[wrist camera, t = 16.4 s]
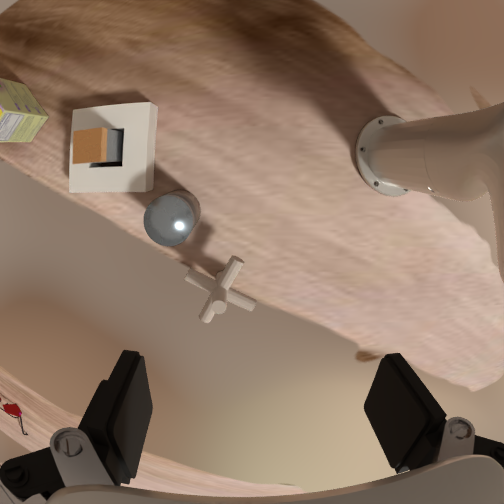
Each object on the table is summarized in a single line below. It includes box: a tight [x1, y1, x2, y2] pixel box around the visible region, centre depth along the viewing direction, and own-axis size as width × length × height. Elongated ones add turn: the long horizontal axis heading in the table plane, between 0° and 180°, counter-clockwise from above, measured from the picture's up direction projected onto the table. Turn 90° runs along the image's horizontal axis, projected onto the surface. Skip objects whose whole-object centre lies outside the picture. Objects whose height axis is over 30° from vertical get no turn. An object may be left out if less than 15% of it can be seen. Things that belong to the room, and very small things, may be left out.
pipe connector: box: [185, 255, 256, 323], centre depth 40 cm, size 10×10×10 cm
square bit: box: [73, 127, 124, 164], centre depth 33 cm, size 4×4×10 cm
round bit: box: [144, 190, 201, 246], centre depth 37 cm, size 6×6×8 cm
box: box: [0, 78, 49, 142], centre depth 29 cm, size 10×6×12 cm, turn 40°
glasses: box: [0, 398, 28, 435], centre depth 52 cm, size 14×16×5 cm
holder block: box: [69, 102, 158, 193], centre depth 36 cm, size 12×12×4 cm
